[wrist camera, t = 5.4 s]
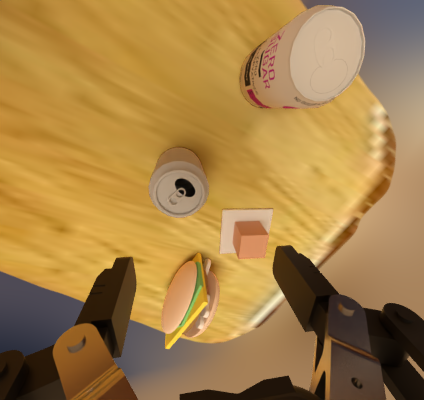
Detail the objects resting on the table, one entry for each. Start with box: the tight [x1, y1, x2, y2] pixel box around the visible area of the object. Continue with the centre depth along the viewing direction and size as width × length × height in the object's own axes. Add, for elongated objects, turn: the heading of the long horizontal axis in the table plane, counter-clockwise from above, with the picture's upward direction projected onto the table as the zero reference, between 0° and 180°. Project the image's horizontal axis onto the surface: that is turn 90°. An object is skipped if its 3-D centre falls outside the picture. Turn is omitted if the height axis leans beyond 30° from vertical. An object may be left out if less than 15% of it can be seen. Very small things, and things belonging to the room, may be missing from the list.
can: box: [149, 147, 209, 218], centre depth 30 cm, size 8×8×12 cm
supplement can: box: [240, 5, 365, 108], centre depth 25 cm, size 8×8×15 cm
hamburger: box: [162, 253, 219, 349], centre depth 40 cm, size 12×8×12 cm
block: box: [233, 221, 269, 259], centre depth 40 cm, size 5×5×5 cm
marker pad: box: [219, 208, 273, 254], centre depth 42 cm, size 10×10×1 cm
